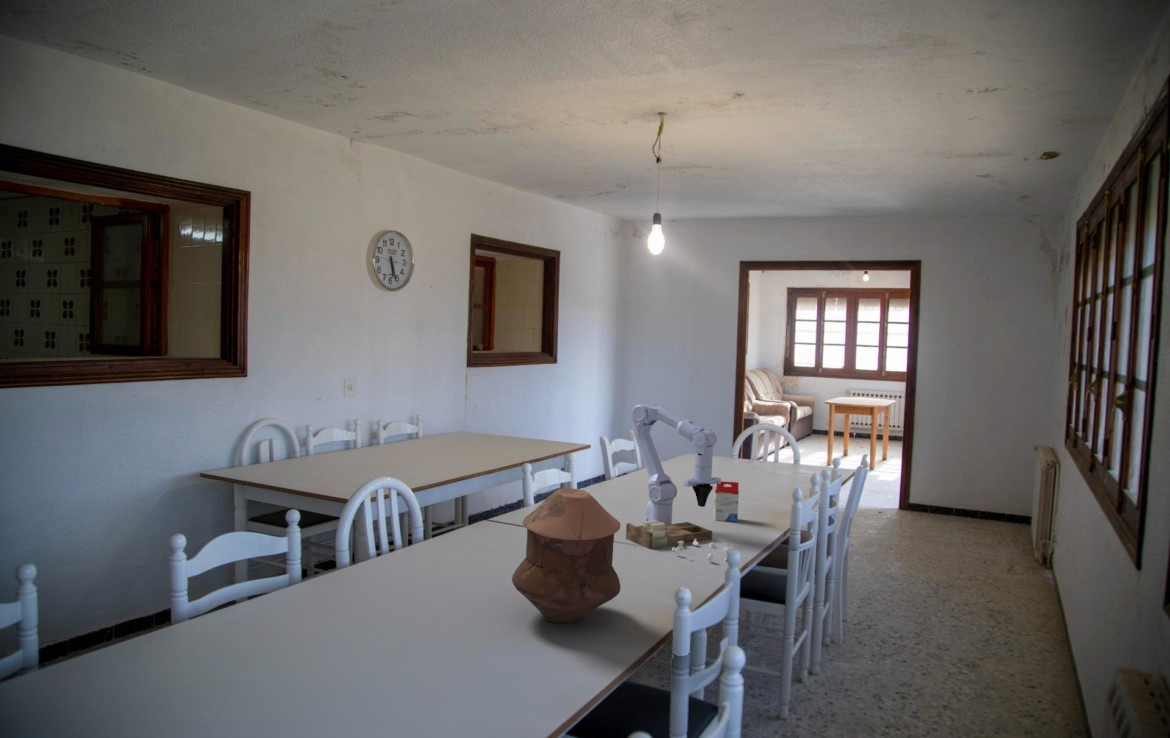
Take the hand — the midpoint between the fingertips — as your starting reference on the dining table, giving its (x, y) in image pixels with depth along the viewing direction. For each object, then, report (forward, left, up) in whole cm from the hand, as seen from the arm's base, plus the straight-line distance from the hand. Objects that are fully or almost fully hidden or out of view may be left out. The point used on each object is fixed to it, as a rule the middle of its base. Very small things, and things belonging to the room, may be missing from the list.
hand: (701, 506), depth 258 cm
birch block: (+1, -21, -7) cm, 22 cm away
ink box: (-15, +25, -11) cm, 31 cm away
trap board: (-3, -12, -10) cm, 16 cm away
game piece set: (+16, -13, -11) cm, 23 cm away
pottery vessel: (+43, -78, -11) cm, 90 cm away
